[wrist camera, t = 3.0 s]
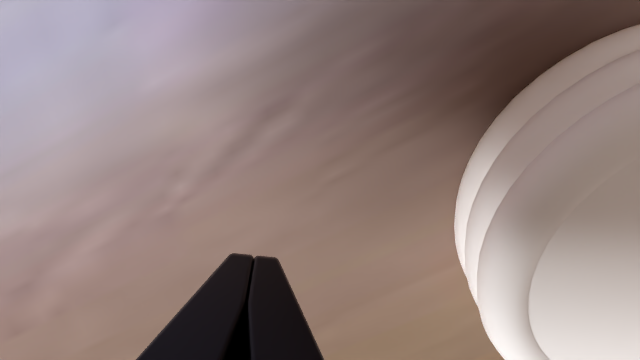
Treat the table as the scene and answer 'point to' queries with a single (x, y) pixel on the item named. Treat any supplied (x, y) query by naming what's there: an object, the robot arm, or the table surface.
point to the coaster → (560, 211)
